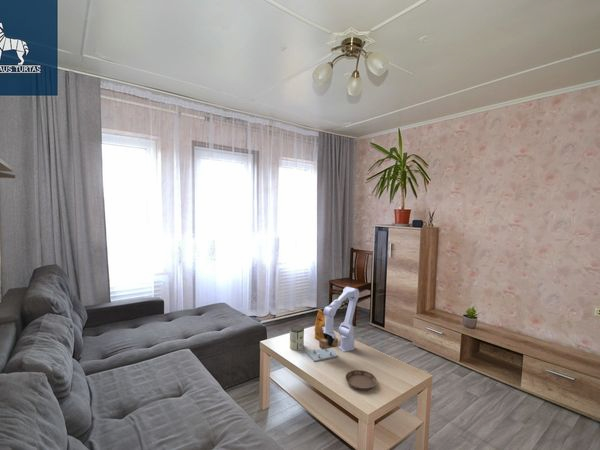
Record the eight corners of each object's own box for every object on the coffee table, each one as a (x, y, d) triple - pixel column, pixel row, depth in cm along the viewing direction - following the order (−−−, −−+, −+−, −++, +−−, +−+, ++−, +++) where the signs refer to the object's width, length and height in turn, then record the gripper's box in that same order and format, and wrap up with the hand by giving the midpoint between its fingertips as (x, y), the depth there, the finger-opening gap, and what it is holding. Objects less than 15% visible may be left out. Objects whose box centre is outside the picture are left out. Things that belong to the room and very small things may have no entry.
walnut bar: (334, 343, 193) (334, 336, 193) (337, 346, 190) (337, 339, 189) (319, 346, 188) (319, 339, 188) (322, 349, 185) (322, 342, 184)
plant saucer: (339, 383, 161) (339, 378, 161) (355, 371, 174) (355, 366, 174) (367, 397, 149) (367, 392, 149) (382, 383, 162) (382, 377, 162)
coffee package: (321, 334, 225) (322, 307, 224) (332, 339, 216) (333, 311, 215) (312, 337, 219) (313, 309, 218) (323, 343, 209) (324, 314, 208)
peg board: (329, 348, 201) (329, 344, 201) (338, 356, 190) (338, 351, 190) (306, 353, 194) (306, 348, 194) (314, 362, 183) (314, 356, 183)
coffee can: (293, 342, 210) (293, 324, 209) (305, 345, 205) (306, 326, 205) (287, 348, 200) (287, 329, 200) (300, 351, 196) (300, 332, 195)
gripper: (318, 321, 193) (318, 340, 194) (329, 329, 180) (328, 350, 181) (327, 320, 196) (327, 339, 197) (338, 328, 183) (338, 348, 184)
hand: (328, 344), depth 189 cm, fingers closed on walnut bar, 4 cm apart
